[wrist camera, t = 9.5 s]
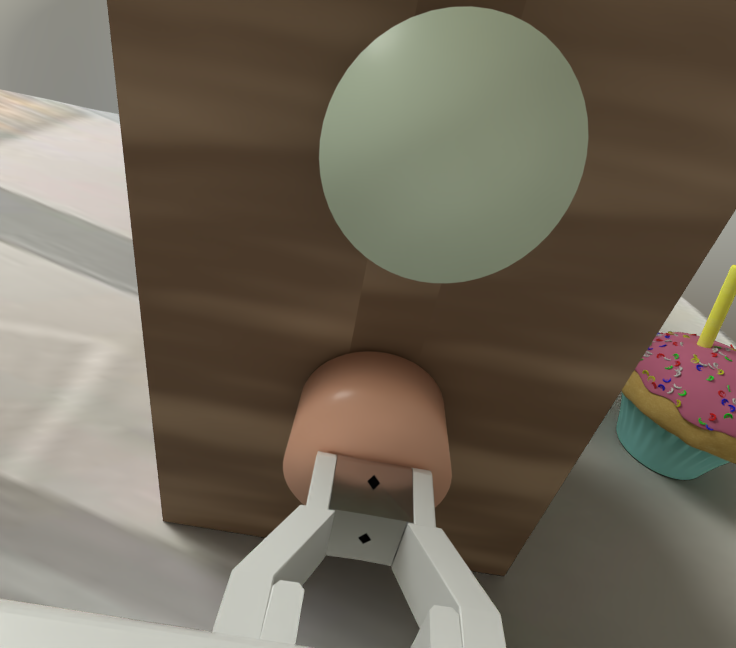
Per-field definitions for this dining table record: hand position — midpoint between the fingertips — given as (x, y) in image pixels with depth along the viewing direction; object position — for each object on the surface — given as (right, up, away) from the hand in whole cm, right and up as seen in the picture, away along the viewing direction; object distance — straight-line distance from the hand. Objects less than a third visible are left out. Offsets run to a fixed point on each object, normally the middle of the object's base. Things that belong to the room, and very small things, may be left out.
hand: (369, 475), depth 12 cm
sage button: (+1, +6, 0) cm, 7 cm away
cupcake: (+17, -4, +16) cm, 23 cm away
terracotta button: (0, 0, +4) cm, 4 cm away
